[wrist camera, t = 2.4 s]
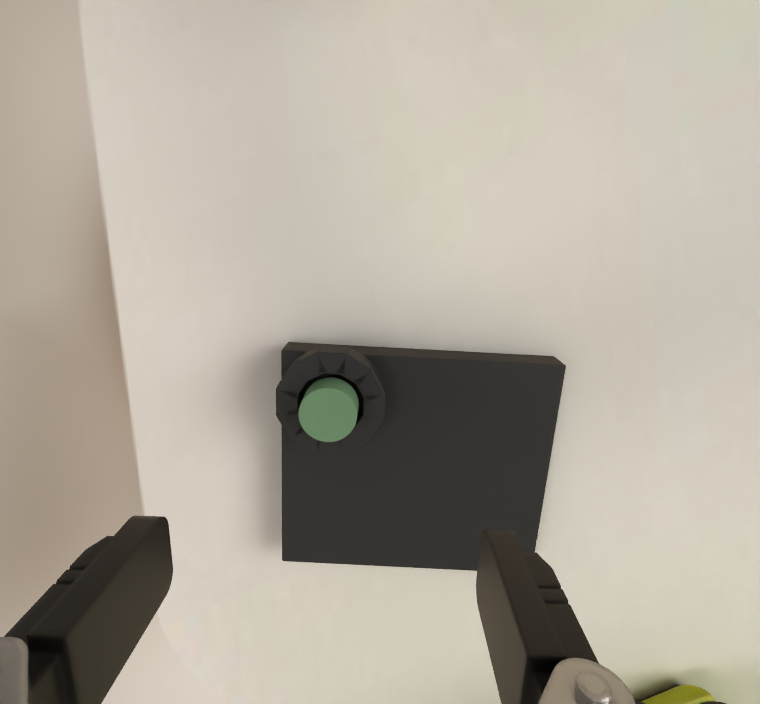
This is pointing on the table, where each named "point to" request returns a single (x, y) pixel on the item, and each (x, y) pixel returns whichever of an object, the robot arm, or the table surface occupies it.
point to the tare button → (329, 410)
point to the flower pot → (681, 696)
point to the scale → (416, 454)
